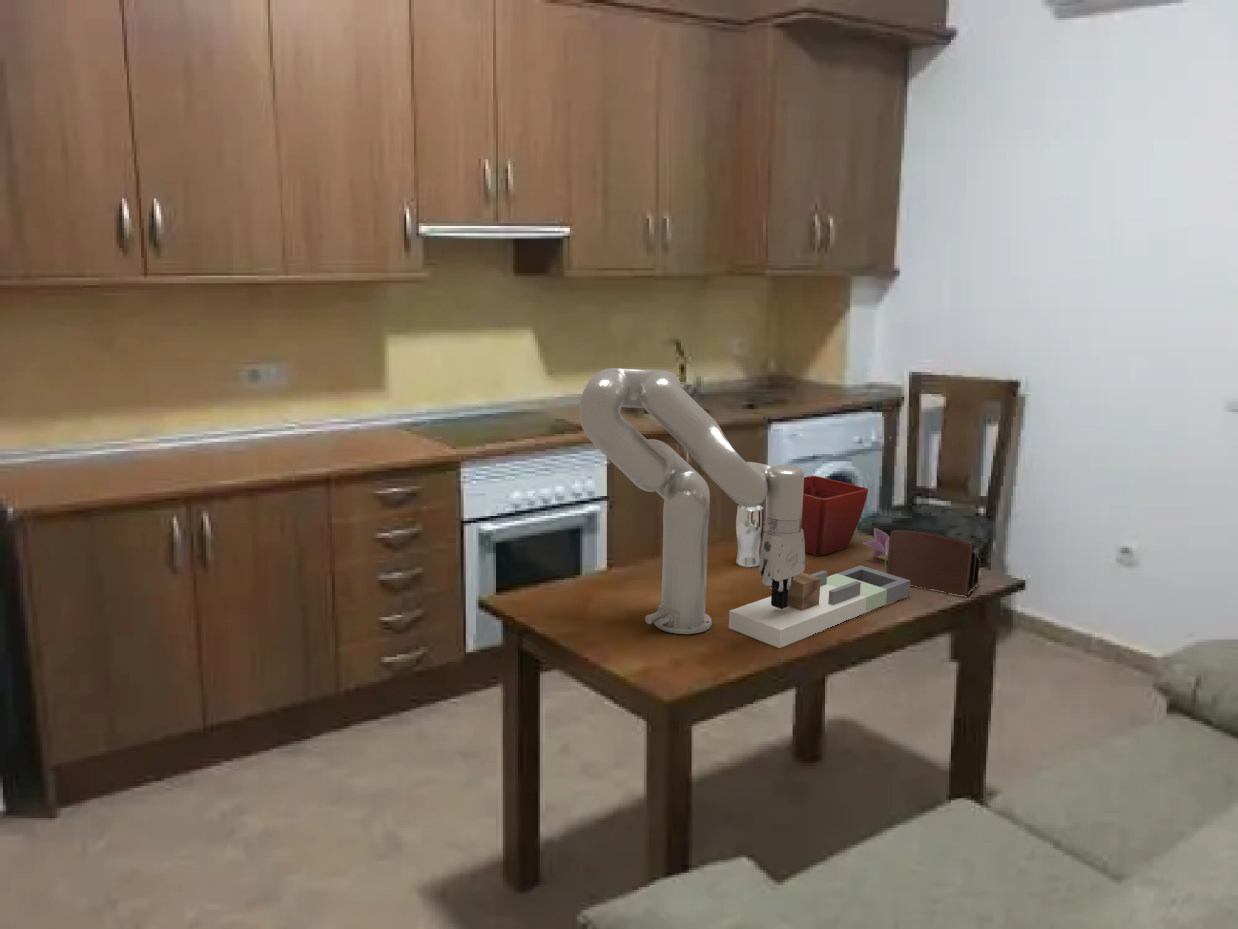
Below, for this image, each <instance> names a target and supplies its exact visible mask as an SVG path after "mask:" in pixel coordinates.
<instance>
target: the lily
mask: <svg viewBox="0 0 1238 929" xmlns="http://www.w3.org/2000/svg"><path fill="white" fill-rule="evenodd" d="M873 536H874V540H869V541H865V542H864V541H863V542H862V544H863V545H865V546H867V547H870V548H873V549H872V550H873V551H872V557H873V558H879V557H882V556H884V555H885V557H884V569H887V559H888V551H889V540H890V535H889V534H887V533H886V532H884V531H883V530H881V529H880V528H877V527H874V528H873Z"/></svg>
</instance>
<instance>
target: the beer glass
mask: <svg viewBox="0 0 1238 929" xmlns="http://www.w3.org/2000/svg"><path fill="white" fill-rule="evenodd" d="M764 510H765V507H764V506H762V505H761V504H759V505H758V506H755V507H744V506H741V505H739V504H737V511H736V520H735V530H736V532H735V533H736V538H737V539H736V540H737V555H736V559H735V564H736V565H737V564H738V566H740V567H743V568H757V567H758V566H759V567H760V548H761V543H762V539H763V534H764V528H765V522H764V521H765V514H764V512H765V511H764ZM756 566H757V567H756Z"/></svg>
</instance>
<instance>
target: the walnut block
mask: <svg viewBox="0 0 1238 929" xmlns="http://www.w3.org/2000/svg"><path fill="white" fill-rule="evenodd" d="M820 582H821V578H818V577H815V576H811V574H808V573H806V572H802V573H801V574H799V575H798V576H796V577H795V578H793V580H792V581H791V586H790V589H787V590H788V604H787V606H790V607H792V608H795V609H798V610H801V611H803V610H805V609H808V608H811V607H814V606H816V605H819V597H820Z"/></svg>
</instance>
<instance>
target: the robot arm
mask: <svg viewBox="0 0 1238 929" xmlns="http://www.w3.org/2000/svg"><path fill="white" fill-rule="evenodd" d="M578 408H579V409H578V410H579V411H578V416H579V417H578V418H579V421H580V425H581V428H582V431H583V432H584V435H586V437H587V438H588V440H589V441H590V442H591V443H592V444H593V445H594V446H595V448H597V449H598V450H599V451H600V452H601V453H602V454H603V455H605V457H607V459H609V461H610V462H611V463H613V465H615V466H616V467H617V468H618V469H619V470H620V471H621V472H622V474H624V475H625V476H626V477H627V478H628V479H629V481H631V482H632V483H633V484H634V485H635V486H636V487H637V488H638V489H640V490H642V491H644V492H650V493H652V492H653V493H654V492H656V493H657V494H658V495H659V496H660V497H661V498H662V499H663V500H664V502H663V507H662V508H663V510H662V523H663V524H662V529H663V531H662V571H661V572H662V573H661V576H662V577H661V578H662V579H661V601H660V602H661V603H660V604H659V605H657V610H656V611H655V613H650V614H646V615H645V617H644V619H645V620H644V621H645V622H646V624H648V625H651V624H654V626H656V627H657V628H658V629H660V631H663V632H666V633H671V634H679V635H693V634H701V633H703V632H706V631H707V630H709V629H710V628H711V627H712V626H713V624H712V623H713V620H712V617H711V616H710V615H709V614H707V613H706V595H707V572H708V571H707V570H708V545H709V544H708V542H709V539H708V538H709V527H710V526H709V524H710V523H709V522H710V512H711V511H710V507H711V506H710V505H711V504H710V503H711V499H710V498H711V497H710V496H711V494H710V492H711V491H710V488H709V484H708V483H707V481H706V479H705V478H704V477H703V476H701V474H700V473H699V472H698V471H696V470H695V469H694V468H693V467H692V466H691V464H689V463H688V462H687V461H686V460H685V459H684V458H683V457H682V456H681V455H680V454H679V453H677V451H676V450H674V448H672V447H671V445H669V444H668V443H665V441H662V440H659V439H655V438H653V439H652V438H649V439H647V437H645V436H644V435H643V434H642V433H641V432H639V430H638V429H637V428H636V427H635V426H634V425H632V423H630V422H629V421H628V420H626V419H625V418H624V417H623V415H622V413H621V409H622V408H635V409H637V408H639V409H640V408H641V409H644V410H646V412H647V413H648V414H649V415H650V416H651V417H652V418H653V419H654V420H655V421H656V422H657V423H658V424H659V425H660V426H661V427H662V428H663V429H665V431H667V432H668V433H669V434H670V435H671V437H673V438H674V439H675V440H676V441H677V442H678V443H679V444H680V445H681V446H682V447H683V448H684V449H685V450H686V451H687V453H688V454H689V455H690V456H691V458H692V459H693V460H694V461H695V462H696V463H697V464H698V465H699V466H700V468H701V469H702V470H703V472H705V473H706V474H707V476H709V478H710V479H711V480H712V482H714V483H715V484H716V486H718V487H719V489H721V490H722V491H723V492H724V493H725V494H726V495H727V496H728V497H729V498H730V499H731V500H732V501H734V503H736V504H737V505H741V506H744V507H755V506H758V505H761V504H762V503H763V502H764V501H765V500H766V504H765V505H766V507H765V522H764V531H763V535H762V540H761V546H760V554H759V559H760V565H759V575H760V576H761V577H762V580H761V584H762V585H764V586H769V588H770V589H771V605H772V606H774V607H777V608H780V609H783V608H786V607H787V604H788V590H787V589H790V586H791V581H792V580H793V578H795V577H796V576H798V575H799V574H801V573H804V571H805V566H806V565H805V564H806V552H805V541H804V533H803V529H801V525H802V507H803V489H804V477H805V474H804V470H803V469H801V468H800V467H797V466H795V465H791V464H790V465H789V464H779V465H772V464H765V463H760V462H756V461H755V462H754V461H746V460H744V458H743V457H741V455H739V453H738V452H737V451H736V450H735V449H734V448H733V446H732V445H731V443H730V442H729V440H728V439H727V437H726V435H725V434H724V433H723V432H724V431H723V430H722V428H721V427H720V425H719V424H718V422H717V421H716V420H715V419H714V418H713V417H712V416H711V415H710V414H709V413H708V412H707V411H706V410H705V409H704V408H703V407H702V406H701V405H699V403H698V402H696V400H695V399H693V397H692V396H690V394H689V393H687V391H686V390H685V389H684V388H683V387H682V384H681V381H680V379H679V378H678V376H676V375H675V374H674V373H672V372H671V371H668V370H663V369H662V370H661V369H640V368H621V367H618V368H616V367H611V368H604V369H601V370H599V371H598V372H596V373H595V374H594V375H593V376H592V377H591V379H590V380H589V381H588V382H587V383H586V385H585V387H584V389H583V392H582V394H581V397H580V402H579V407H578Z"/></svg>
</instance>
